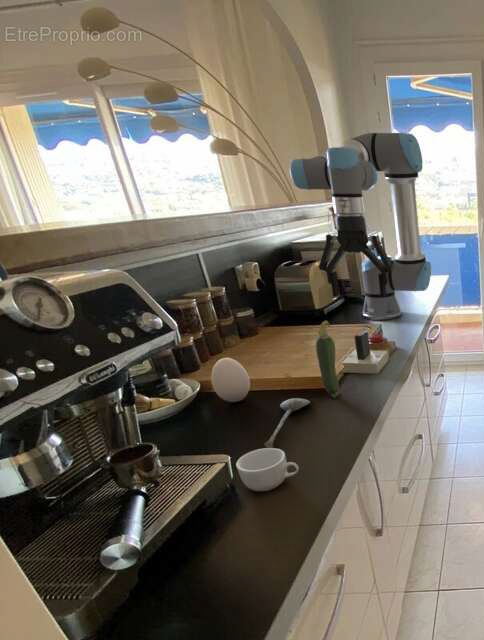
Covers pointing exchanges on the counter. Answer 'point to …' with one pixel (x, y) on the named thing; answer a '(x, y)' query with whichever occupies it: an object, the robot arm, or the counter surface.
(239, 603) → the counter surface
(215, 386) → the egg
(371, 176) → the robot arm
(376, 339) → the button
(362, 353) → the dark grey block
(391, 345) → the button block
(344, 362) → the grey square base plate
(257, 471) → the teacup
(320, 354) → the vegetable
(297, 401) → the soupspoon
